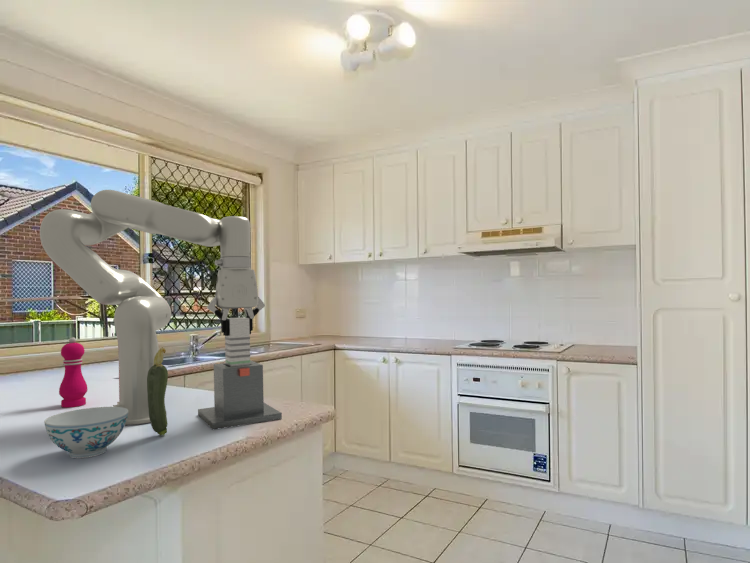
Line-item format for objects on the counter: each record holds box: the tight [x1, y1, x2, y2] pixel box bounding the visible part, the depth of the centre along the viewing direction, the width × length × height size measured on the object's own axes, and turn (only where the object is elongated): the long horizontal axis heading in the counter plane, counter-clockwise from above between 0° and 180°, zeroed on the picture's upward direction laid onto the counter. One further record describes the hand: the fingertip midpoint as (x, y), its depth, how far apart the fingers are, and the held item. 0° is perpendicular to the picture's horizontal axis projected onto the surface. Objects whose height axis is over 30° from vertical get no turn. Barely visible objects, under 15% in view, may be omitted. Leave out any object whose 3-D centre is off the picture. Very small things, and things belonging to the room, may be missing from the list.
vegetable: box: [147, 347, 169, 436], centre depth 115 cm, size 4×4×20 cm
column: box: [224, 316, 251, 367], centre depth 131 cm, size 5×5×18 cm
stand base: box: [197, 360, 283, 430], centre depth 131 cm, size 17×17×14 cm
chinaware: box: [43, 406, 128, 459], centre depth 104 cm, size 15×15×8 cm
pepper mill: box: [58, 336, 89, 408], centre depth 149 cm, size 7×7×20 cm
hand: (237, 334), depth 131 cm, fingers closed on column, 5 cm apart
